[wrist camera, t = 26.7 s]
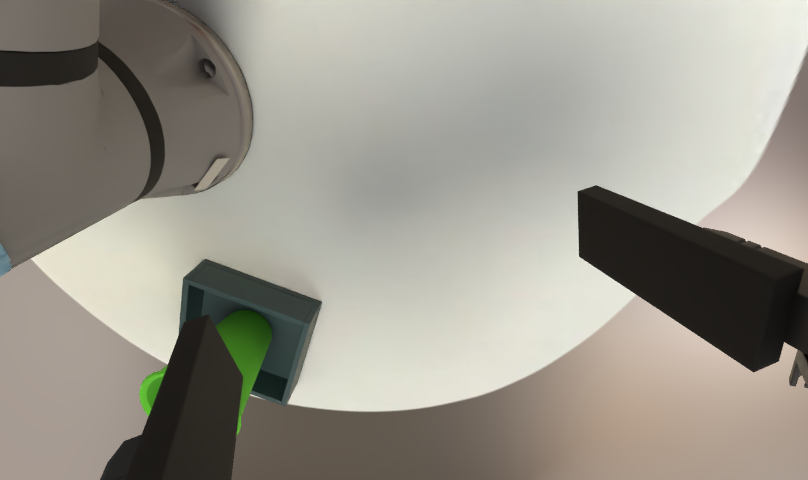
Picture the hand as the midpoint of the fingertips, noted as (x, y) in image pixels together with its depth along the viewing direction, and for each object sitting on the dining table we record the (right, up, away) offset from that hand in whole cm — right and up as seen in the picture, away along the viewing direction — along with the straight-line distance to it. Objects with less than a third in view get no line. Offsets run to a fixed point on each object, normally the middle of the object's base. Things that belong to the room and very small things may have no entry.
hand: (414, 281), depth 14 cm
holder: (-17, -8, +31) cm, 36 cm away
